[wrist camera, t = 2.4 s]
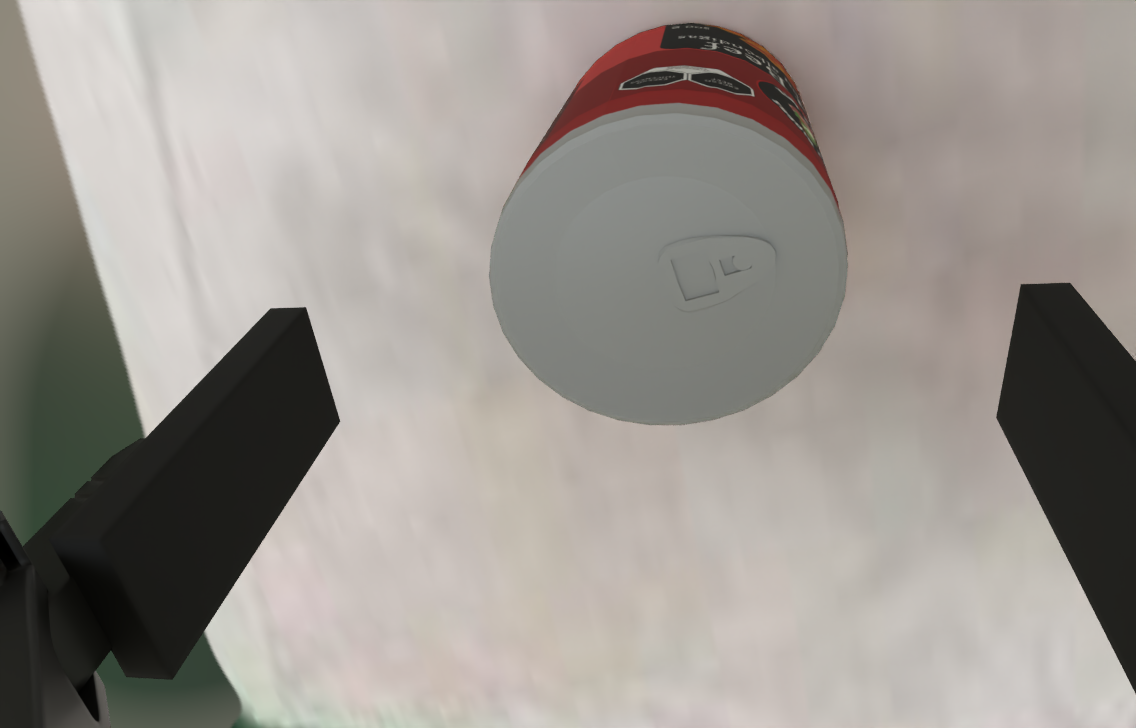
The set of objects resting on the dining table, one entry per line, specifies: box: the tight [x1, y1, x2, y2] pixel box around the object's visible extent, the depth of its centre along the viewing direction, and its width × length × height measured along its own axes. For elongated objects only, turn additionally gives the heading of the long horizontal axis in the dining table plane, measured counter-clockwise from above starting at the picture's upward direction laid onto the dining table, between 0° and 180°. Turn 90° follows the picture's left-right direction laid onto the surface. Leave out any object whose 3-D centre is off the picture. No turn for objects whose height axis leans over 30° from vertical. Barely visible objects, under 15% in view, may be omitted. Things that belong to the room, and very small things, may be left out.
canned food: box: [489, 23, 848, 425], centre depth 23 cm, size 8×8×11 cm
